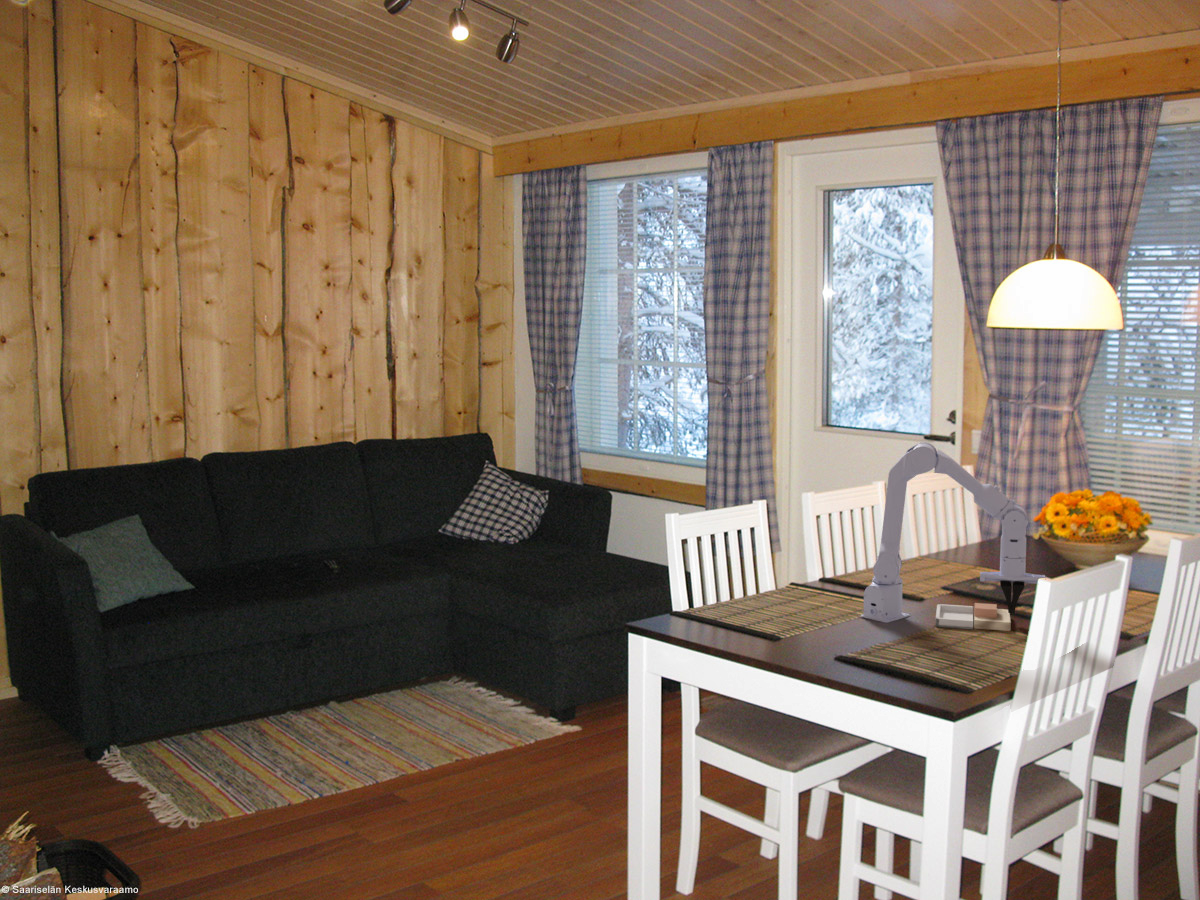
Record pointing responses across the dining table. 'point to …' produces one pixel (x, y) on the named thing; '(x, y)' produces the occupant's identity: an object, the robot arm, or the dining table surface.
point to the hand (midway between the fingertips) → (1011, 612)
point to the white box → (994, 621)
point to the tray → (954, 616)
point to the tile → (985, 610)
